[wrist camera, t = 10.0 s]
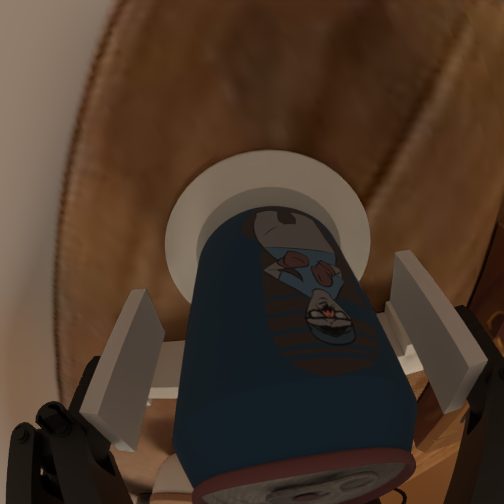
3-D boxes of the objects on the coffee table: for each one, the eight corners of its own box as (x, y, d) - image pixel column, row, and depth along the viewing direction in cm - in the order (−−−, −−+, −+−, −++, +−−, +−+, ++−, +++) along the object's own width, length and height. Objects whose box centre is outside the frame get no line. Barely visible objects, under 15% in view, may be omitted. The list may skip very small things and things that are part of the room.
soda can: (235, 325, 18) (240, 530, 8) (176, 229, 15) (103, 479, 5) (346, 284, 17) (428, 483, 7) (309, 173, 14) (458, 401, 4)
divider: (138, 362, 22) (125, 404, 18) (122, 335, 20) (105, 378, 17) (406, 328, 20) (426, 368, 17) (412, 296, 19) (436, 337, 15)
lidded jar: (188, 427, 27) (178, 512, 19) (268, 454, 30) (271, 526, 22) (143, 450, 31) (132, 515, 23) (214, 474, 34) (211, 533, 26)
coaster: (196, 335, 20) (195, 342, 19) (142, 172, 15) (138, 176, 14) (363, 311, 19) (366, 318, 19) (364, 137, 14) (368, 139, 13)
